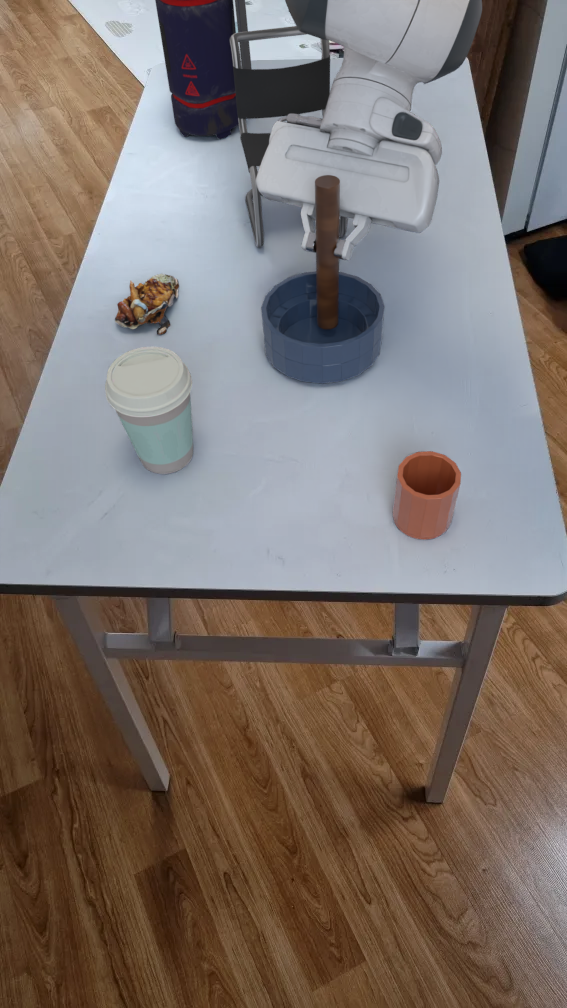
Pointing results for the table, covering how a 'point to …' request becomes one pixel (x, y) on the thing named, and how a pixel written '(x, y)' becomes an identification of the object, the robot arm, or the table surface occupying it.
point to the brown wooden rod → (327, 249)
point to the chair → (275, 105)
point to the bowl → (317, 350)
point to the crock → (426, 494)
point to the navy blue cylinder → (202, 62)
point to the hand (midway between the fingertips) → (325, 254)
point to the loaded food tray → (148, 303)
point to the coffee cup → (153, 406)
